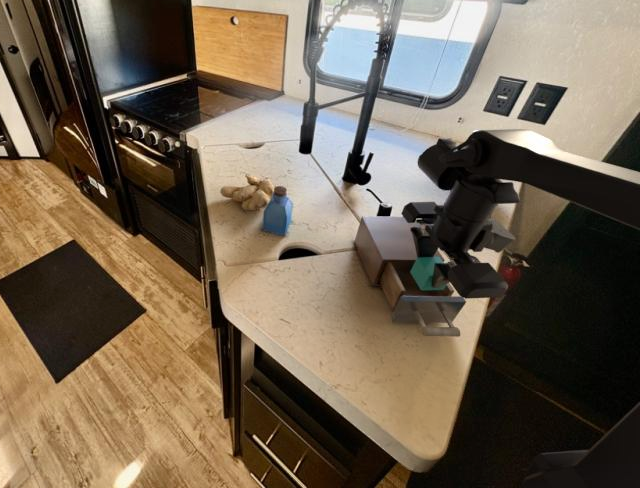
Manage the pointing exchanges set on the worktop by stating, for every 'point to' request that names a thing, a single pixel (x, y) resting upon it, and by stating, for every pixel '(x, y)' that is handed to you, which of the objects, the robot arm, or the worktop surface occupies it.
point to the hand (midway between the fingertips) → (428, 277)
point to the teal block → (425, 272)
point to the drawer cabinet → (385, 243)
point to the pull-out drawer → (419, 301)
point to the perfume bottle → (278, 212)
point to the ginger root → (251, 193)
